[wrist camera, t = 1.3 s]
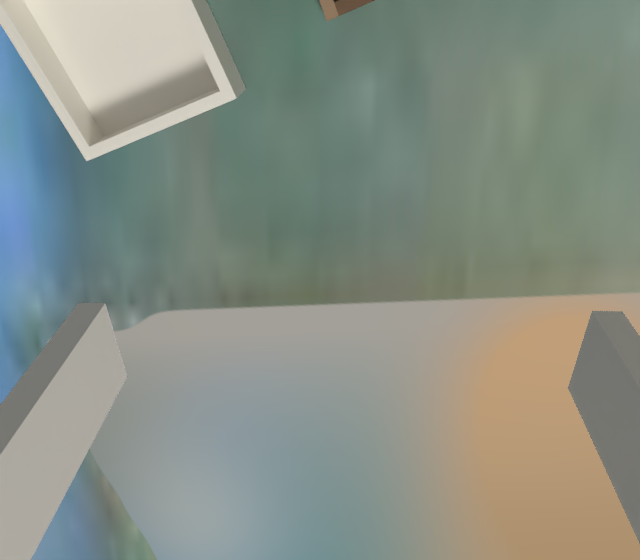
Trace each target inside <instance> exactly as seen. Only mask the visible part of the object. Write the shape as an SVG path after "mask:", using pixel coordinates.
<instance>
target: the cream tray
mask: <svg viewBox="0 0 640 560" xmlns="http://www.w3.org/2000/svg"><path fill="white" fill-rule="evenodd" d="M0 24H1V26H2V27H3V29H4V30H5V32H6V34H7V35H8V37H9V38H10V40H11V41H12V43H13V45H14V46H15V48H16V49H17V51H18V53H19V54H20V56H21V57H22V59H23V61H24V62H25V64H26V65H27V67H28V69H29V70H30V72H31V73H32V75H33V77H34V78H35V80H36V81H37V83H38V84H39V86H40V88H41V89H42V91H43V92H44V94H45V96H46V97H47V99H48V100H49V102H50V104H51V105H52V107H53V108H54V110H55V112H56V113H57V115H58V116H59V118H60V120H61V121H62V123H63V124H64V126H65V128H66V129H67V131H68V132H69V134H70V135H71V137H72V139H73V140H74V142H75V143H76V145H77V147H78V148H79V150H80V151H81V153H82V155H83V156H84V158H85V159H86V161H88V160H91V159H93V158H95V157H98V156H100V155H103V154H105V153H107V152H110V151H112V150H115V149H117V148H119V147H122V146H124V145H126V144H129V143H131V142H134V141H136V140H138V139H141V138H143V137H146V136H148V135H150V134H153V133H155V132H158V131H160V130H162V129H165V128H167V127H169V126H172V125H174V124H177V123H179V122H181V121H184V120H186V119H189V118H191V117H193V116H196V115H198V114H201V113H203V112H205V111H208V110H210V109H212V108H215V107H217V106H220V105H222V104H224V103H227V102H229V101H232V100H234V99H236V98H237V97H238V96H239V95H240V94H241V93H242V92H243V91H244V90H245V89H246V88H245V85H244V83H243V81H242V79H241V76H240V74H239V72H238V70H237V67H236V65H235V63H234V61H233V59H232V56H231V54H230V52H229V50H228V47H227V45H226V43H225V41H224V39H223V36H222V34H221V32H220V30H219V27H218V25H217V23H216V21H215V18H214V16H213V14H212V12H211V10H210V7H209V5H208V3H207V1H206V0H0Z"/></svg>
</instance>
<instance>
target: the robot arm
mask: <svg viewBox="0 0 640 560" xmlns="http://www.w3.org/2000/svg"><path fill="white" fill-rule="evenodd" d="M126 378H127V375H126V371H125V368H124V365H123V361H122V358H121V354H120V352H119V348H118V344H117V341H116V338H115V334H114V331H113V328H112V324H111V321H110V318H109V314H108V311H107V308H106V304H105V303H78V304H77V305H76V307H75V308H74V309H73V311H72V312H71V313H70V315H69V316H68V317H67V319H66V320H65V321H64V322H63V324H62V325H61V326H60V328H59V329H58V330H57V332H56V333H55V334H54V336H53V337H52V338H51V339H50V341H49V342H48V343H47V345H46V346H45V347H44V349H43V350H42V351H41V353H40V354H39V355H38V356H37V358H36V359H35V360H34V362H33V363H32V364H31V366H30V367H29V368H28V370H27V371H26V372H25V373H24V375H23V376H22V377H21V379H20V380H19V381H18V383H17V384H16V385H15V387H14V388H13V389H12V390H11V392H10V393H9V394H8V396H7V397H6V398H5V400H4V401H3V402H2V404H1V405H0V560H31V558H32V556H33V555H34V553H35V551H36V549H37V547H38V545H39V543H40V541H41V539H42V537H43V536H44V534H45V532H46V530H47V528H48V526H49V524H50V522H51V520H52V519H53V517H54V515H55V513H56V511H57V509H58V507H59V505H60V503H61V501H62V500H63V498H64V496H65V494H66V492H67V490H68V488H69V486H70V484H71V482H72V481H73V479H74V477H75V475H76V473H77V471H78V469H79V467H80V465H81V463H82V462H83V460H84V458H85V456H86V454H87V452H88V450H89V448H90V446H91V444H92V443H93V441H94V439H95V437H96V435H97V433H98V431H99V429H100V427H101V425H102V424H103V422H104V420H105V418H106V416H107V414H108V412H109V410H110V408H111V406H112V405H113V403H114V401H115V399H116V397H117V395H118V393H119V391H120V389H121V387H122V386H123V383H124V382H125V380H126ZM568 389H569V391H570V393H571V395H572V397H573V400H574V402H575V404H576V406H577V408H578V411H579V413H580V415H581V417H582V419H583V421H584V423H585V426H586V428H587V430H588V432H589V434H590V437H591V439H592V441H593V443H594V445H595V447H596V450H597V451H598V454H599V456H600V458H601V460H602V462H603V465H604V467H605V469H606V471H607V473H608V476H609V478H610V480H611V482H612V484H613V486H614V489H615V491H616V493H617V495H618V497H619V500H620V502H621V504H622V506H623V508H624V510H625V513H626V515H627V517H628V519H629V521H630V524H631V526H632V528H633V530H634V532H635V534H636V536H637V539H638V541H639V543H640V336H639V335H638V333H637V332H636V330H635V329H634V327H633V326H632V325H631V323H630V322H629V320H628V319H627V317H625V315H624V313H623V312H615V311H614V312H613V311H592V313H591V316H590V320H589V323H588V326H587V329H586V332H585V336H584V339H583V342H582V345H581V348H580V351H579V355H578V358H577V361H576V364H575V367H574V371H573V374H572V377H571V381H570V384H569V387H568Z"/></svg>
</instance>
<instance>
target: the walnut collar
mask: <svg viewBox="0 0 640 560" xmlns="http://www.w3.org/2000/svg"><path fill="white" fill-rule="evenodd" d="M319 1H320V4H321V7H322V9H323V12H324V15H325V18H326V21H329V20H331V19H333V18H335V17H338V16H340V15H342V14H345V13H347V12H349V11H351V10H354V9H356V8H358V7H360V6H363V5H365V4H367V3H370V2H372V1H374V0H336V1H335V0H319Z"/></svg>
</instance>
